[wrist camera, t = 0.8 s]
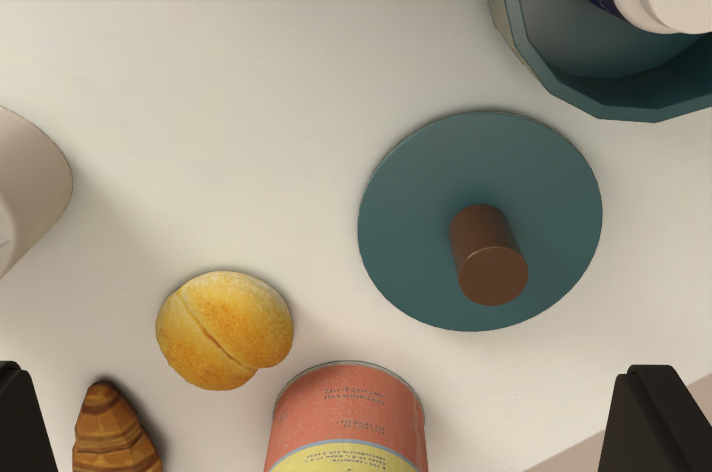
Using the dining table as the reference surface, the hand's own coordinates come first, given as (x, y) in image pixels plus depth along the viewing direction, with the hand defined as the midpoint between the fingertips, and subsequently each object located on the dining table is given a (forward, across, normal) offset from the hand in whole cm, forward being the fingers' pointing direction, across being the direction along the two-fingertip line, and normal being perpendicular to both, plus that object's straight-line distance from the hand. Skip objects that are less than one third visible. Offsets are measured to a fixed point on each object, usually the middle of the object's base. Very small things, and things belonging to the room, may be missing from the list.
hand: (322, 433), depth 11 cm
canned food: (+30, +1, +27) cm, 40 cm away
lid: (+30, -7, +10) cm, 32 cm away
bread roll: (+30, +10, +18) cm, 36 cm away
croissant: (+30, +18, +29) cm, 46 cm away
